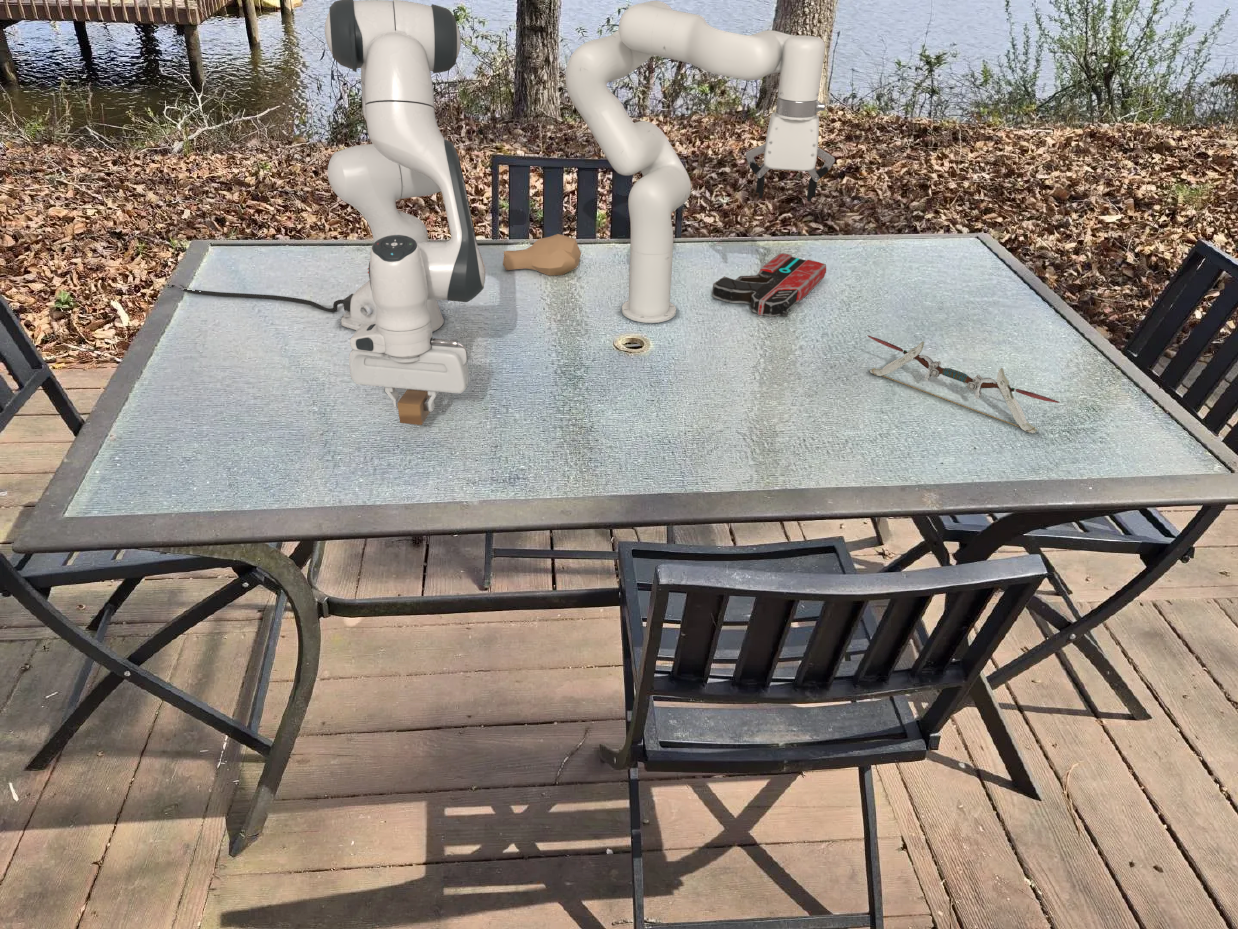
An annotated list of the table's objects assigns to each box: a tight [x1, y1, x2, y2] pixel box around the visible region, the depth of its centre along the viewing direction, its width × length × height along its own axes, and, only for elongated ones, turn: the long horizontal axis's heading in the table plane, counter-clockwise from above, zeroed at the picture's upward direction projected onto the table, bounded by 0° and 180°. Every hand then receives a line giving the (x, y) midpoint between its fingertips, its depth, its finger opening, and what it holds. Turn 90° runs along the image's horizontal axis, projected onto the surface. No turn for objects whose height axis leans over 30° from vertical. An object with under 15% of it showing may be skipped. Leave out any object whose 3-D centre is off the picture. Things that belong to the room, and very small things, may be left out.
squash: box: [502, 233, 582, 276], centre depth 221 cm, size 11×20×9 cm, turn 90°
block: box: [397, 389, 431, 426], centre depth 153 cm, size 5×4×4 cm
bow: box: [867, 334, 1060, 434], centre depth 169 cm, size 39×2×10 cm, turn 47°
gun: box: [711, 252, 827, 318], centre depth 215 cm, size 4×31×19 cm
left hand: (414, 408), depth 153 cm, fingers closed on block, 4 cm apart
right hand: (784, 197), depth 176 cm, fingers open, 9 cm apart
